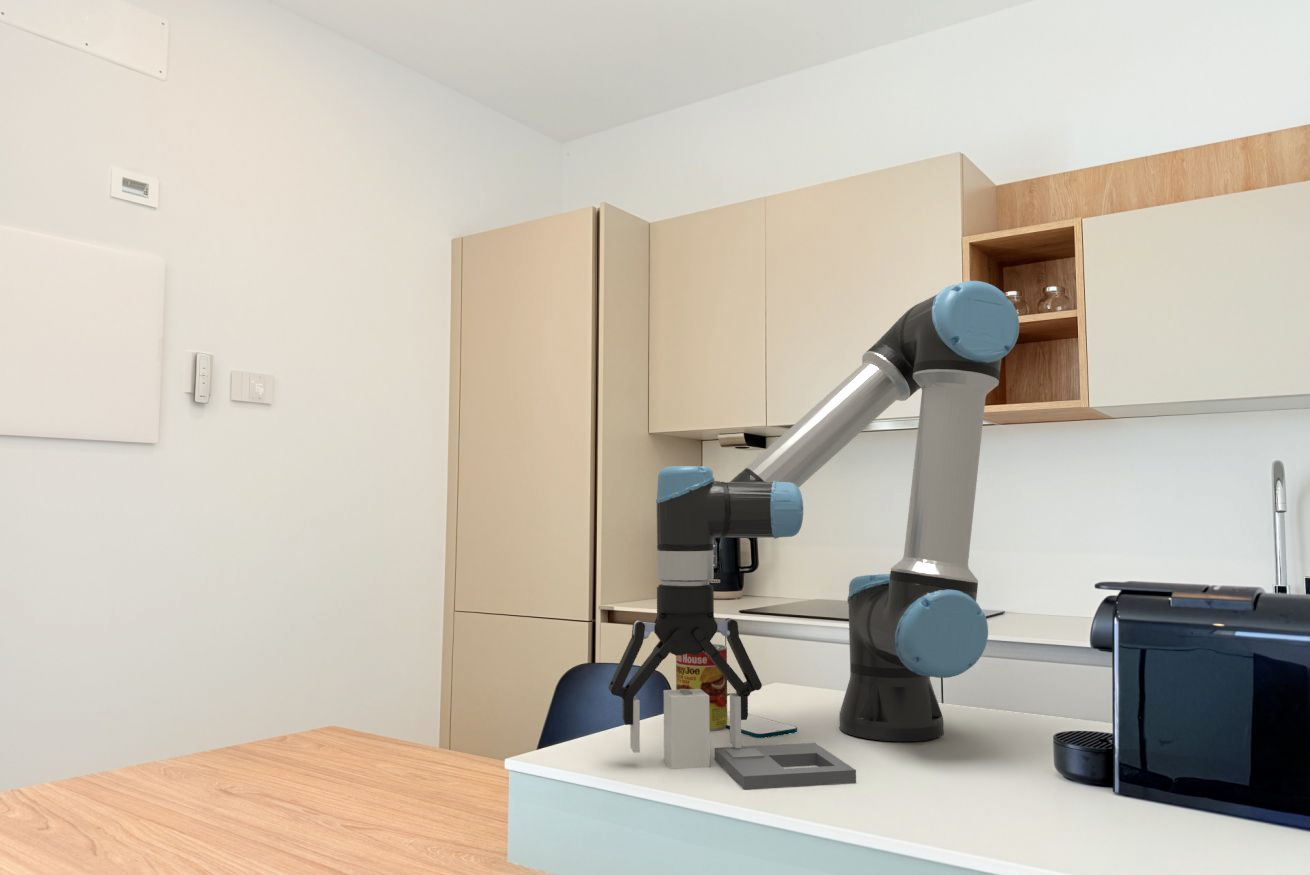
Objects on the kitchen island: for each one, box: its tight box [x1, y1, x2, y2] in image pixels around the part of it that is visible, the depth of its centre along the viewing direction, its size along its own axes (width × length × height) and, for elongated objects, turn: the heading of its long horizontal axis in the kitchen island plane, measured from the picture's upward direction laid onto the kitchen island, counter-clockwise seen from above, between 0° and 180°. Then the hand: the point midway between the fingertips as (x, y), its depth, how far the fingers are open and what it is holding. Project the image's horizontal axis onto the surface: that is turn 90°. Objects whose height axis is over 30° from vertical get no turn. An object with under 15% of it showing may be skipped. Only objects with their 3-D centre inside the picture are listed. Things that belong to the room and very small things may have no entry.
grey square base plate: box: [713, 742, 857, 790], centre depth 118 cm, size 14×14×2 cm
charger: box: [663, 689, 711, 770], centre depth 123 cm, size 5×5×9 cm
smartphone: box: [725, 711, 798, 739], centre depth 145 cm, size 8×1×16 cm
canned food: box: [675, 643, 728, 732], centre depth 145 cm, size 8×8×12 cm
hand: (685, 748), depth 122 cm, fingers open, 13 cm apart
